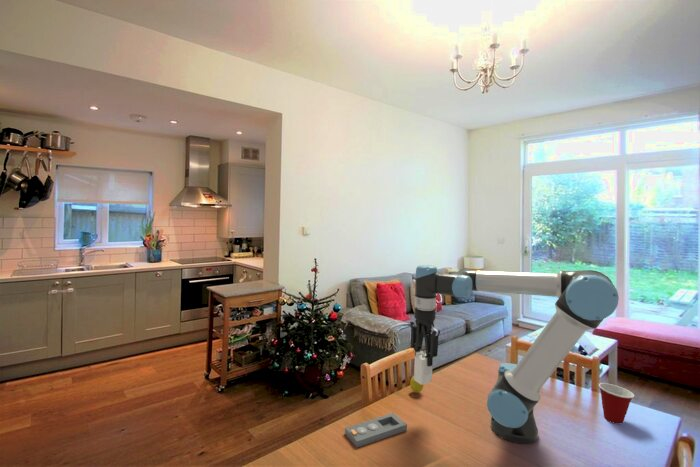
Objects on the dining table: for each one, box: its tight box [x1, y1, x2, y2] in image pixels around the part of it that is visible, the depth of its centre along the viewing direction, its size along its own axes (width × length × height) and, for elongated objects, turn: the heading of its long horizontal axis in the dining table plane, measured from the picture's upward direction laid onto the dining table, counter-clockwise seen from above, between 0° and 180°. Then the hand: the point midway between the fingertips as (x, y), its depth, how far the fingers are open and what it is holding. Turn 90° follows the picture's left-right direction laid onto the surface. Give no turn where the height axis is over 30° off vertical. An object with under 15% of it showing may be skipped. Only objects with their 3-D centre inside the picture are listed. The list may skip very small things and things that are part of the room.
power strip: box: [344, 412, 408, 448], centre depth 119 cm, size 8×20×4 cm, turn 119°
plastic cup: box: [598, 382, 635, 424], centre depth 132 cm, size 11×11×12 cm
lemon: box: [409, 375, 424, 394], centre depth 148 cm, size 6×6×8 cm
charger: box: [413, 352, 433, 385], centre depth 128 cm, size 4×5×10 cm
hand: (423, 371), depth 128 cm, fingers closed on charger, 4 cm apart
